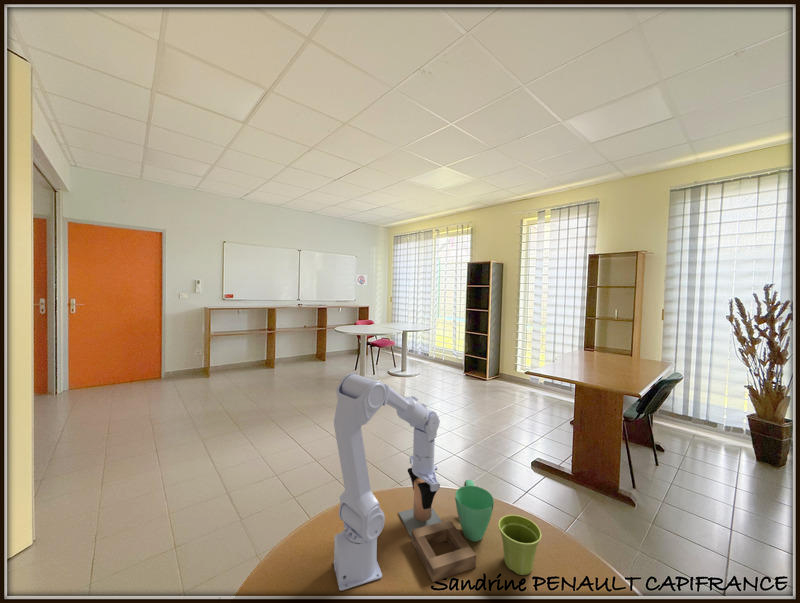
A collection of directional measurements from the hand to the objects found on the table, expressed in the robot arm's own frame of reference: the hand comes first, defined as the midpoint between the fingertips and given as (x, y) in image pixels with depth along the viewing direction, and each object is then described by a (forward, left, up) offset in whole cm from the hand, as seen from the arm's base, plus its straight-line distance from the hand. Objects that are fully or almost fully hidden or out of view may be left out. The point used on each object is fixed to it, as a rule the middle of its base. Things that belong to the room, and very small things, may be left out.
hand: (422, 501), depth 89 cm
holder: (0, -12, -6) cm, 13 cm away
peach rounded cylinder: (0, 0, -4) cm, 4 cm away
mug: (+12, -6, -6) cm, 15 cm away
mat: (0, 0, -6) cm, 6 cm away
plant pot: (+15, -20, -6) cm, 26 cm away
